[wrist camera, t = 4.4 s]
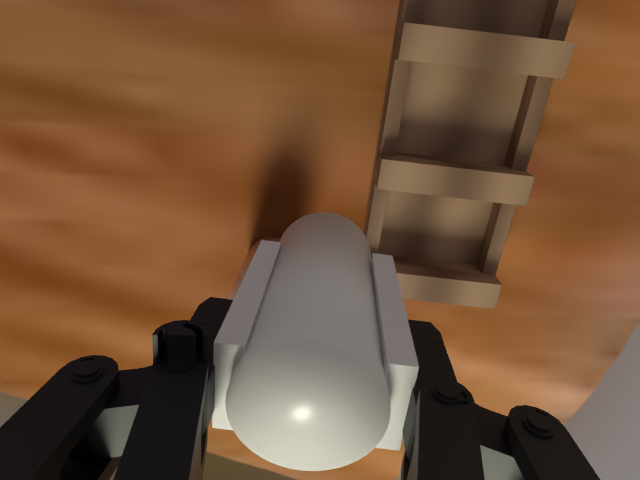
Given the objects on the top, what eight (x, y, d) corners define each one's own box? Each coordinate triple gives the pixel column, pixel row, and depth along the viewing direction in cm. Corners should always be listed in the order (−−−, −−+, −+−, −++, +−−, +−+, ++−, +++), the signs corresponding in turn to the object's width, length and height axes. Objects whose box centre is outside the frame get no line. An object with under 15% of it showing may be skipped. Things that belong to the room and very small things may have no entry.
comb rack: (357, 269, 36) (359, 293, 32) (419, -123, 26) (432, -153, 22) (478, 283, 36) (494, 308, 32) (586, -103, 26) (627, -129, 22)
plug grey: (274, 291, 20) (223, 461, 11) (280, 207, 18) (226, 331, 10) (363, 301, 20) (377, 479, 11) (377, 218, 18) (404, 352, 10)
